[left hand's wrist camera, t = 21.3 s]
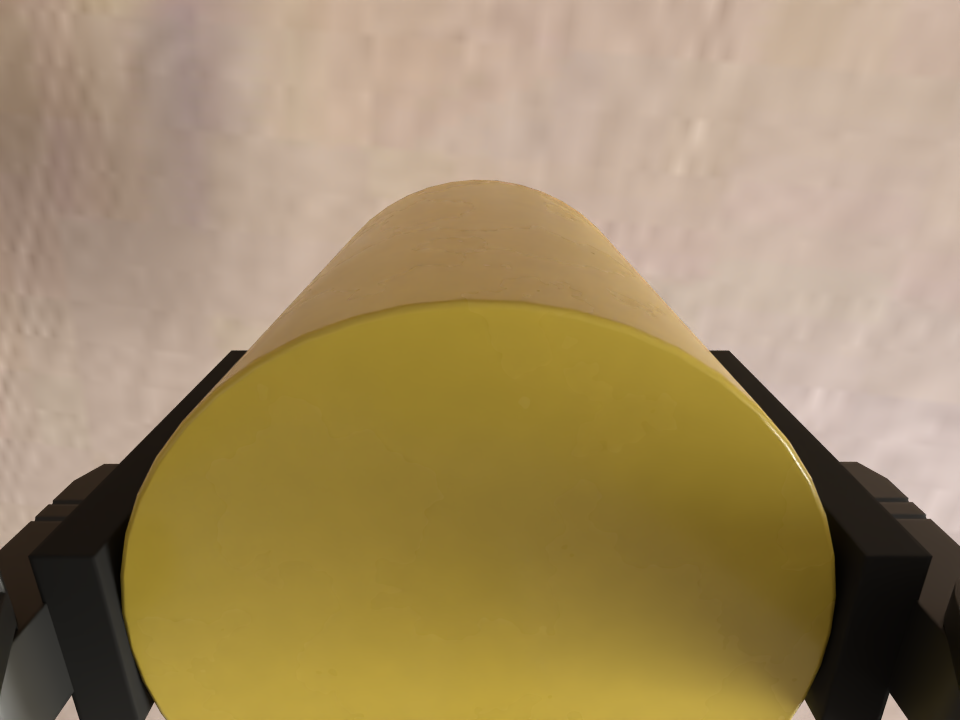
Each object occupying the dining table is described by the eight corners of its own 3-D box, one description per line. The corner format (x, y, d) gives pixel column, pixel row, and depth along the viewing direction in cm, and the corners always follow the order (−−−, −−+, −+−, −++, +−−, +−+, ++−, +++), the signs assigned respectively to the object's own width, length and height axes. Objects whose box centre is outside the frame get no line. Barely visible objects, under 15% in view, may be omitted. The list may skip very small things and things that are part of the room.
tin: (359, 500, 20) (240, 894, 10) (280, 210, 16) (-10, 371, 7) (650, 459, 19) (826, 833, 9) (627, 151, 16) (858, 235, 6)
